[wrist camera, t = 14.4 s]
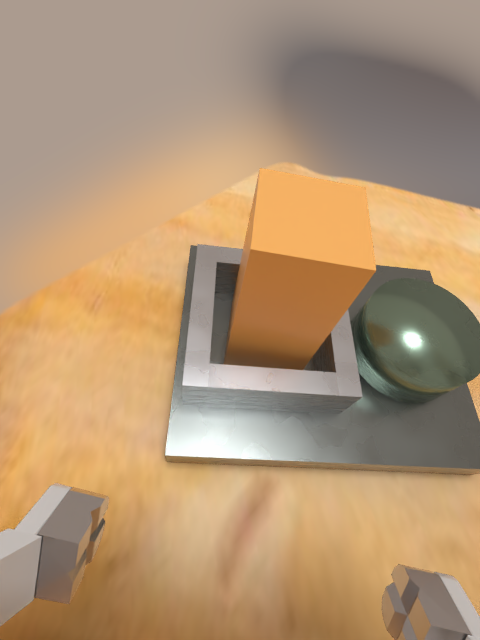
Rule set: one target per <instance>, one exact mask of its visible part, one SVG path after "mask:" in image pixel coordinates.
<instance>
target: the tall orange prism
mask: <svg viewBox="0 0 480 640" xmlns="http://www.w3.org/2000/svg"><path fill="white" fill-rule="evenodd" d="M375 272H376V264H375V257H374V249H373V242H372V234H371V226H370V219H369V211H368V204H367V196H366V188H365V187H360V186H354V185H349V184H344V183H338V182H333V181H327V180H322V179H317V178H311V177H306V176H300V175H295V174H290V173H284V172H279V171H274V170H268V169H263V168H260V170H259V175H258V180H257V184H256V189H255V194H254V199H253V204H252V209H251V213H250V218H249V223H248V228H247V233H246V238H245V242H244V247H243V252H242V257H241V262H240V267H239V271H238V276H237V281H236V286H235V291H234V296H233V300H232V306H231V313H230V320H229V328H228V335H227V342H226V349H225V357H224V365H238V366H251V367H265V368H279V369H293V370H303V369H304V368H305V366H306V365H307V364H308V362H309V361H310V360H311V358H312V357H313V355H314V354H315V353H316V351H317V350H318V349H319V347H320V346H321V345H322V343H323V342H324V341H325V339H326V338H327V337H328V335H329V334H330V333H331V331H332V330H333V328H334V327H335V326H336V324H337V323H338V322H339V320H340V319H341V318H342V316H343V315H344V314H345V312H346V311H347V310H348V308H349V307H350V306H351V304H352V303H353V301H354V300H355V299H356V297H357V296H358V295H359V293H360V292H361V291H362V289H363V288H364V287H365V285H366V284H367V283H368V281H369V280H370V278H371V277H372V276H373V274H374V273H375Z"/></svg>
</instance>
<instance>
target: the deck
mask: <svg viewBox="0 0 480 640" xmlns="http://www.w3.org/2000/svg"><path fill="white" fill-rule="evenodd" d="M242 252H243V249H237V248H228V247H218V246H209V245H200V244H198V246H193V245H191V248H190V256H189V264H188V272H187V281H186V289H185V297H184V305H183V313H182V321H181V329H180V338H179V346H178V354H177V362H176V370H175V378H174V386H173V394H172V403H171V411H170V419H169V427H168V435H167V443H166V451H165V457H166V461H167V462H182V463H206V464H229V465H253V466H276V467H300V468H323V469H347V470H370V471H394V472H417V473H441V474H464V475H472V474H477V473H480V422H479V419H478V416H477V413H476V410H475V407H474V403H473V400H472V397H471V394H470V391H469V388H468V385H467V382H469V381H471V380H473V379H474V378H475V377H477V376H478V375H479V373H480V324H479V322H478V320H477V319H476V317H475V316H474V314H473V313H472V312H471V311H470V309H469V308H468V307H467V306H466V305H465V304H464V303H463V302H462V301H461V300H459V299H458V298H457V297H456V296H455V295H453V294H452V293H450V292H449V291H447V290H445V289H444V288H442V287H440V286H438V285H435V284H434V282H433V279H432V276H431V273H430V271H426V270H417V269H408V268H398V267H389V266H380V265H376V272H375V273H374V274H373V276H372V277H371V278H370V280H369V281H368V283H367V284H366V285H365V287H364V288H363V289H362V291H361V292H360V293H359V295H358V296H357V297H356V299H355V300H354V301H353V303H352V304H351V306H350V307H349V308H348V310H347V311H346V312H345V314H344V315H343V316H342V318H341V319H340V320H339V322H338V323H337V324H336V326H335V327H334V328H333V330H332V331H331V333H330V334H329V335H328V337H327V338H326V339H325V341H324V342H323V343H322V345H321V346H320V347H319V349H318V350H317V351H316V353H315V354H314V355H313V357H312V358H311V360H310V361H309V362H308V364H307V365H306V366H305V368H304V369H303V370H293V369H279V368H265V367H251V366H238V365H224V357H225V349H226V342H227V335H228V328H229V320H230V313H231V306H232V300H233V296H234V291H235V286H236V281H237V276H238V271H239V267H240V262H241V257H242Z"/></svg>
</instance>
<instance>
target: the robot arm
mask: <svg viewBox="0 0 480 640" xmlns="http://www.w3.org/2000/svg"><path fill="white" fill-rule="evenodd" d="M108 502H109V497H108V496H105V495H101V494H97V493H94V492H90V491H86V490H82V489H78V488H75V487H73V488H72V487H69V486H65V485H61V484H58V483H55V484H53V485H51V486H50V487H49V488H48V489H47V491H46V492H45V493H44V494H43V495H42V497H41V498H40V499H39V500H38V501H37V503H36V504H35V505H34V506H33V507H32V509H31V510H30V511H29V512H28V513H27V515H26V516H25V517H24V518H23V519H22V521H21V522H20V523H19V524H18V525H17V527H16V528H15V529H14V530H13V529H6V530H4V531H2V532H0V626H1V625H3V624H4V623H5V622H6V621H8V620H9V619H10V618H12V617H13V616H14V615H15V614H17V613H18V612H19V611H20V610H22V609H23V608H24V607H25V606H27V605H28V604H29V603H31V602H32V601H33V600H34V598H40V599H45V600H50V601H55V602H60V603H65V604H70V602H71V600H72V598H73V596H74V594H75V593H76V591H77V589H78V587H79V585H80V583H81V581H82V579H83V575H84V569H85V565H87V564H88V563H90V562H91V561H92V559H93V557H94V555H95V553H96V551H97V548H98V546H99V543H100V541H101V538H102V534H103V530H104V526H105V521H104V519H103V516H104V514H105V512H106V510H107V509H108ZM391 575H392V578H393V581H394V582H393V583H392V584H390V585H389V586H387V587H386V588H385V591H384V594H383V597H382V614H383V620H384V623H385V626H386V629H387V631H388V632H389V633H390V634H391V636H392V637H393V638H394V639H395V640H480V617H479V615H478V613H477V612H476V610H475V608H474V607H473V605H472V603H471V602H470V600H469V598H468V597H467V595H466V593H465V592H464V590H463V588H462V587H461V585H460V583H459V582H458V580H457V579H455V578H454V577H453V576H451V575H446V574H442V573H437V572H431V571H427V570H423V569H418V568H414V567H409V566H405V565H400V564H398V565H397V566H396V567H394V570H393V572H392V574H391Z"/></svg>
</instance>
